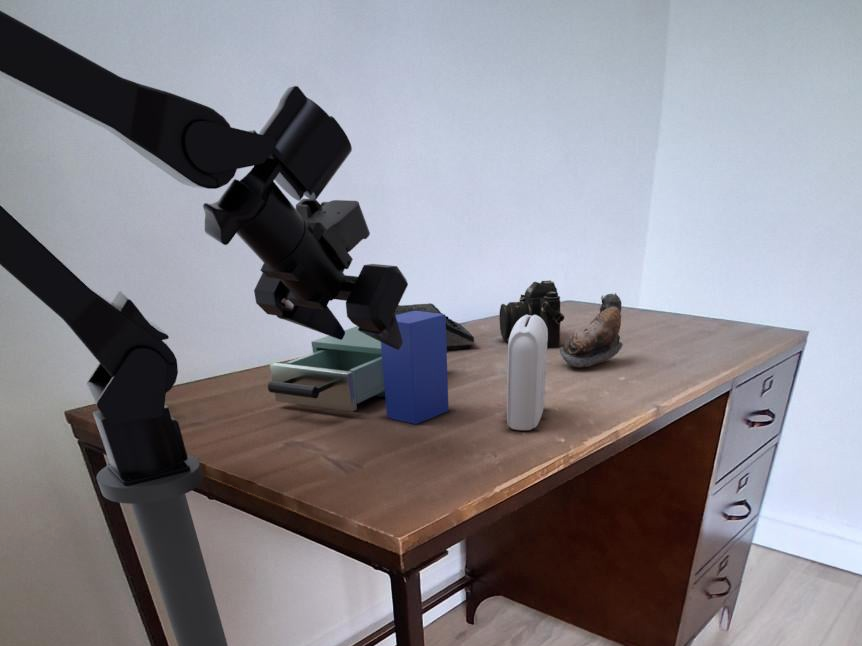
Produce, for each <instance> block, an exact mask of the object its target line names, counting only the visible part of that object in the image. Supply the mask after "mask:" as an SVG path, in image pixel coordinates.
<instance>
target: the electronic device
mask: <svg viewBox="0 0 862 646" xmlns="http://www.w3.org/2000/svg"><path fill="white" fill-rule="evenodd" d="M411 311H423V312H431V313H438V314H443V313H442V312H441V311H440V309H439V308H437V306H436V305H435V304H434V303H432V302H431V303H429V302H428V303H417V304H416V303H415V304H407V305H406V304H404V305H403V304H402V305H400V304H399V305H398V307H397V309H396V311H395V315H398V314H403V313H407V312H411ZM445 316H446V346H447V351H449V350H459V349H469V348H471V347H472V346H473V345H474V342H475V337H474V336H473V335H472V334H471V332H470V331H468V329H466V328H465V327H464V326H463V325H462V324H461V323H459V322H456V321H454V320H453V319H451V318H449V316H448V315H445Z"/></svg>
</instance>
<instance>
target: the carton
mask: <svg viewBox="0 0 862 646" xmlns="http://www.w3.org/2000/svg"><path fill="white" fill-rule="evenodd" d="M446 316H447V315H446V314H445V313H442V314H438V313H431V312H423V311H411V312H407V313H403V314H398V315H396V319H397V322H398V326H399V330H400V333H401V337H402V340H403V343H402V345H401V347H400V349H399V350H398V349H395V348H392V347H390V346H388V345H386V344H384V343H382V342H381V352H382V364H383V375H384V387H385V397H384V398H385V411H386V418H387V419H391V420H396V421H401V422H405V423H409V424H412V425H413V424H414V425H418V424H420V423H423V422H426V421H428V420H430V419H433V418H435V417H437V416H440V415H442V414H445V413H447V412H449V382H448V381H449V380H448V379H449V378H448V350H447V346H446Z"/></svg>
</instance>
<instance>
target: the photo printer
mask: <svg viewBox="0 0 862 646" xmlns="http://www.w3.org/2000/svg"><path fill="white" fill-rule="evenodd" d="M547 341H548V330H547V327H546V324H545V322H544V321H543V319H542V318H541V317H539V316H537V315H533V316H530V315H525V316H523V317H521V318H520V319H519V320H518V321H517V322H516V324H515V325H514V327H513V329H512V331H511V334H510V337H509V339H508V343H507V378H506V379H507V380H506V382H507V383H506V423H507V427H508V428H510V429H511V430H515V431H531V430H533V429H535V428H536V427H538V425H539V423H540V421H541V418H542V415H543V413H544V408H545V400H546V399H545V398H546V377H547V355H548V347H547Z"/></svg>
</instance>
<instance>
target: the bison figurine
mask: <svg viewBox="0 0 862 646" xmlns="http://www.w3.org/2000/svg"><path fill="white" fill-rule="evenodd" d="M600 299H601V306H600V308H599V313H597V314H596V316H595V318H593V320H591V321H590V323H589V324H588V325H587V326H586V327H585V328H584V329H583V331H581V330H579V329H575V330H574V331H573V332H572V334H571V335H570V337H569V338H568V339H567V340H566V342H563V345H562V346H561V347H560V348H559V352H560V355H561V357H562V359H563V361H565V362H566V364H568V365H569V366H571V367H573V368H577V369H578V368H579V369H581V368H589V367H592V366H596V365H599V364H601V363H603V362H606V361H609V360H610V359H611V358H613V357H615V356H616V355H617V354H618V353H619V352H620V351H621V349H622V348H623V346H624V345H623V344H624V343H622V342H620V340H621V336H620V335H619V334H620V329H621V326H622V300H621V298H620V297H619V295H618V294H617V292H614V293H607V294H605V295H604V294H602V295H601V297H600Z"/></svg>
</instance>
